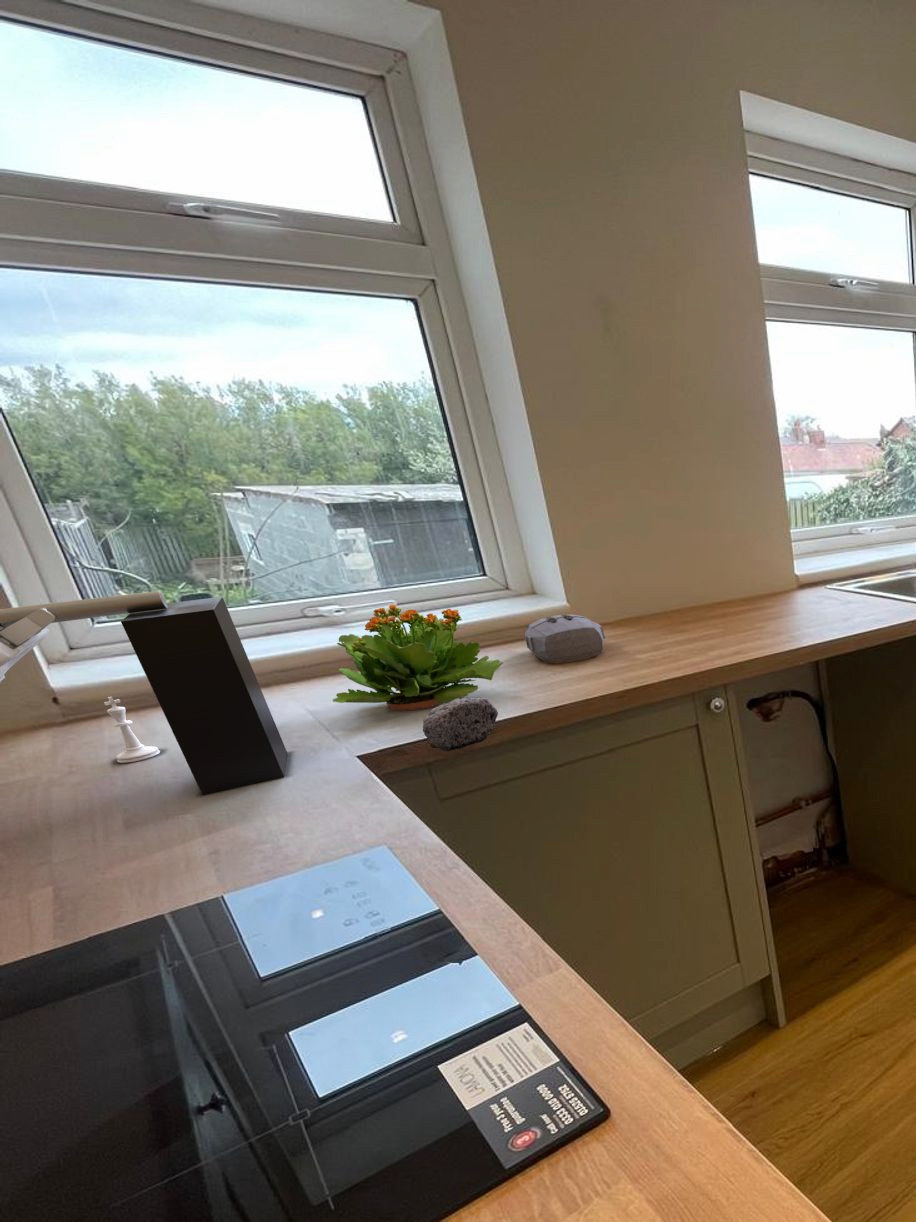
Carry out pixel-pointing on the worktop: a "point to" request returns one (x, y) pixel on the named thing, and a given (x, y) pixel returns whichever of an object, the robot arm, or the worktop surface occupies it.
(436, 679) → the potted flower
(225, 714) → the black box
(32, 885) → the worktop surface
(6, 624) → the matchstick with dark head
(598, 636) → the soft grey pack
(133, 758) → the chess piece
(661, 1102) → the worktop surface
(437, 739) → the pumice stone
